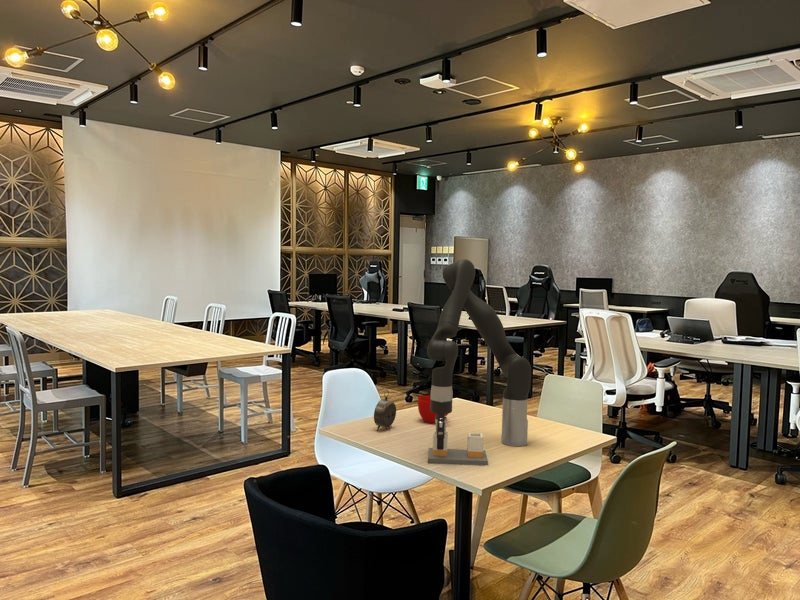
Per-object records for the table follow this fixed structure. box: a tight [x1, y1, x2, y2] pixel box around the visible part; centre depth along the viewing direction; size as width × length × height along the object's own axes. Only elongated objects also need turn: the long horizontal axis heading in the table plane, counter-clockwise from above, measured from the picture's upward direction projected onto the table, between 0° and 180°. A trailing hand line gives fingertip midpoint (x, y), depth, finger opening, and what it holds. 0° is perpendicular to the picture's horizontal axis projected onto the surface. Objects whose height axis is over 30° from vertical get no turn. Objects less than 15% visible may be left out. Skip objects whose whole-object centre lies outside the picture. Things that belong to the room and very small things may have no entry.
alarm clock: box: [373, 389, 397, 432], centre depth 238 cm, size 11×5×16 cm, turn 149°
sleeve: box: [432, 430, 449, 456], centre depth 203 cm, size 5×5×7 cm
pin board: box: [427, 432, 489, 466], centre depth 202 cm, size 20×12×8 cm, turn 86°
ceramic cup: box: [417, 395, 449, 424], centre depth 251 cm, size 13×17×10 cm
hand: (440, 446), depth 203 cm, fingers open, 5 cm apart
